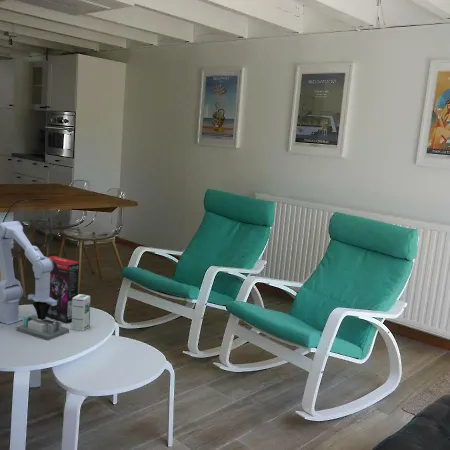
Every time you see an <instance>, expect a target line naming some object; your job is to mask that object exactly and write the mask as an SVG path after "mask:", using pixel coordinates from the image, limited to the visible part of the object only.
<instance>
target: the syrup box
mask: <svg viewBox="0 0 450 450" xmlns="http://www.w3.org/2000/svg"><path fill="white" fill-rule="evenodd" d="M90 317H91V295H87V294H82V293H81V294H80V293H78V295H77V296H75V297H73V298H72V321H71V330H74V331H75V330H76V331H82V332H85V331H86V330H87V329H89V328H90V326H91V325H90V324H91V323H90V322H91V321H90V319H91V318H90Z"/></svg>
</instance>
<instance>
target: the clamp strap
mask: <svg viewBox="0 0 450 450" xmlns="http://www.w3.org/2000/svg"><path fill="white" fill-rule="evenodd" d="M33 315H34V314H31V315H30V316H27V318H29V321H30V320H34V321H38V322H41V323H45V324H52V325H54V326H55V325H58V322H56V321H55V320H53V321H51V320H52V319H49V320H47V319H48V318H46V319H43V320H41V318H40V319H38V317H36V316H33ZM54 321H55V322H54Z"/></svg>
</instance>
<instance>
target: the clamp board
mask: <svg viewBox="0 0 450 450" xmlns="http://www.w3.org/2000/svg"><path fill="white" fill-rule="evenodd" d="M32 315H33V316H36V317H37V314H32ZM46 319H47V320H51V321H54V322H58V325H55V326H54V325H52V324H45V323H41V322H38V321H34V320H30V321H29V318H28V316H27V317H23V324H21V325H18V326H16V327H15V328H16V329H15V330H16V331H17V332H20V333H24V334H26V335H31V336H32V337H36V338H39V339H43V340H46V341H50V340H53V339H56V338H58V337H60V336H64V335H65V334H68V333H70V328H68V327H64V326H62V323H63V321H60V320H57V321H55V320H52V319H49V318H46Z"/></svg>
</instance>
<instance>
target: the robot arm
mask: <svg viewBox="0 0 450 450" xmlns="http://www.w3.org/2000/svg"><path fill="white" fill-rule="evenodd" d="M13 240H15V241H16V242H17V244H19V246H20V247H21V248H22V249H23V250H24V255H25V257H26V258H27V259H28V261H29V262H30V263H31V265H32V271H33V274H34V278H35V280H34V281H35V284H34V286H35V288H34V289H35V290H34V294H33V293H30V294H28V295H27V300H32V301H33V302H32V306H33V308H34V310H35V312H36V315H37V317H38V319H40V318H41V320H43V319H47V316H46V315H47V312H48V310H49V308H50V306H51V305H52V306H55V305H57V300H54V299H52V298H51V297H50V272H51V271H52V270H53V262H52V260H51V259H50V258H47V256H44V254H43V252H41V250H40V248H39V247H38V246H37V245H32V243H31V242H30V240H29V239H28V237H27V236H26V234H25V233H24V227H23V225H22V223H21V222H20V221H18V220H14V221H5V222H4V221H3V222H0V277H1V281H0V322H1V323H3V324H5V325H11V324H14V323H17V322H20V321H24V318H21V317H19V305H20V304H19V301H21V298H22V297H23V295H24V289H23V287H22V284H21V281H19V280H18V279H16V277H15V276H16V275H15V270H14V263H13V256H12V249H11V242H12V241H13Z"/></svg>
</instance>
